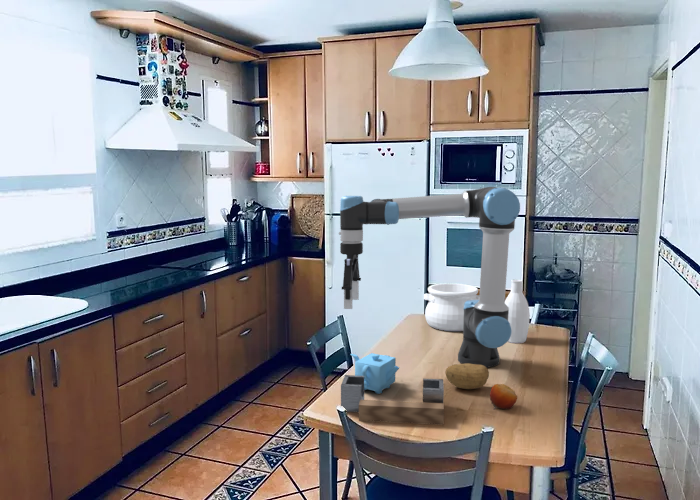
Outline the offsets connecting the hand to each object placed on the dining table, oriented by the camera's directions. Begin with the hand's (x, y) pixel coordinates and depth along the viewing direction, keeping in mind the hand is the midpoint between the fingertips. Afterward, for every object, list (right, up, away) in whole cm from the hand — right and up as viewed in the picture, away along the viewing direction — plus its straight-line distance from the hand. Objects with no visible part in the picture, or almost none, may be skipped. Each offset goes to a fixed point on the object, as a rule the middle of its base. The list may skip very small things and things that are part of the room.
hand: (351, 304), depth 202 cm
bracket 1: (0, -29, -22) cm, 36 cm away
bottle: (+68, -19, +45) cm, 84 cm away
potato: (+38, -27, -8) cm, 47 cm away
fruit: (+46, -29, -23) cm, 59 cm away
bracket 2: (+24, -29, -25) cm, 45 cm away
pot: (+46, -16, +68) cm, 84 cm away
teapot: (+7, -27, -7) cm, 29 cm away
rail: (+14, -31, -32) cm, 46 cm away
